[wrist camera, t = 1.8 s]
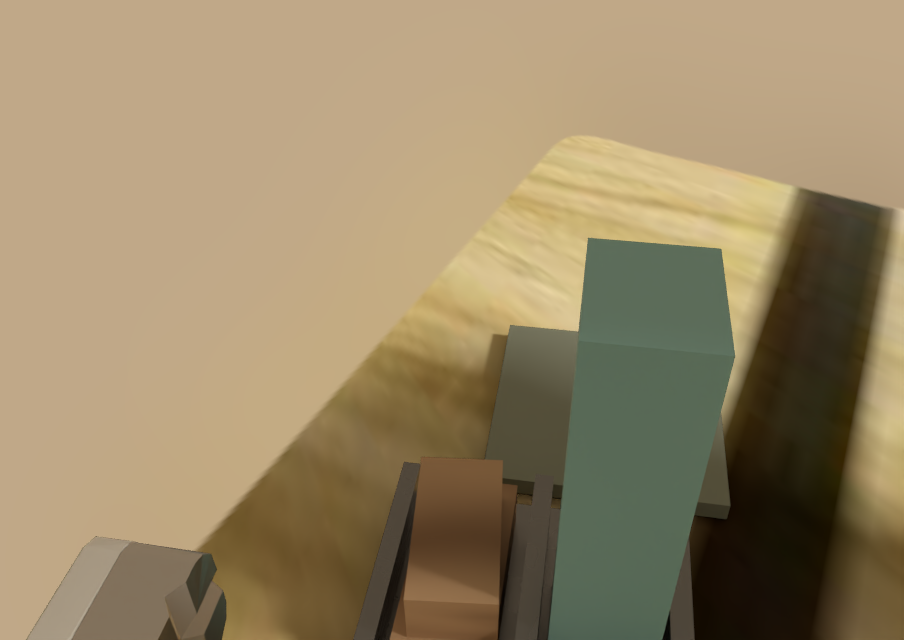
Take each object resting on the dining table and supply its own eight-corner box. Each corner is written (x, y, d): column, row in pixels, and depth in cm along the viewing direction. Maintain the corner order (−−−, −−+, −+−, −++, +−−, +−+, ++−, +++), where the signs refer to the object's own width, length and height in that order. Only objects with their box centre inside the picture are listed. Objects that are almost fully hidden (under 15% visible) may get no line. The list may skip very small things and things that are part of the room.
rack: (407, 502, 42) (402, 432, 39) (685, 538, 41) (703, 468, 37) (334, 770, 32) (320, 705, 29) (699, 834, 31) (725, 772, 27)
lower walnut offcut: (432, 509, 41) (431, 474, 39) (515, 520, 40) (517, 485, 39) (389, 688, 34) (386, 654, 32) (489, 704, 33) (490, 670, 32)
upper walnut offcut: (423, 494, 38) (421, 457, 37) (501, 498, 38) (502, 460, 37) (406, 636, 33) (403, 599, 31) (497, 642, 33) (498, 604, 31)
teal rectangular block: (553, 580, 38) (588, 237, 26) (645, 593, 37) (721, 248, 26) (543, 688, 34) (579, 340, 23) (645, 704, 33) (735, 356, 22)
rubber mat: (509, 337, 52) (510, 325, 52) (711, 357, 51) (714, 344, 50) (481, 488, 43) (481, 475, 42) (726, 519, 41) (730, 506, 41)
